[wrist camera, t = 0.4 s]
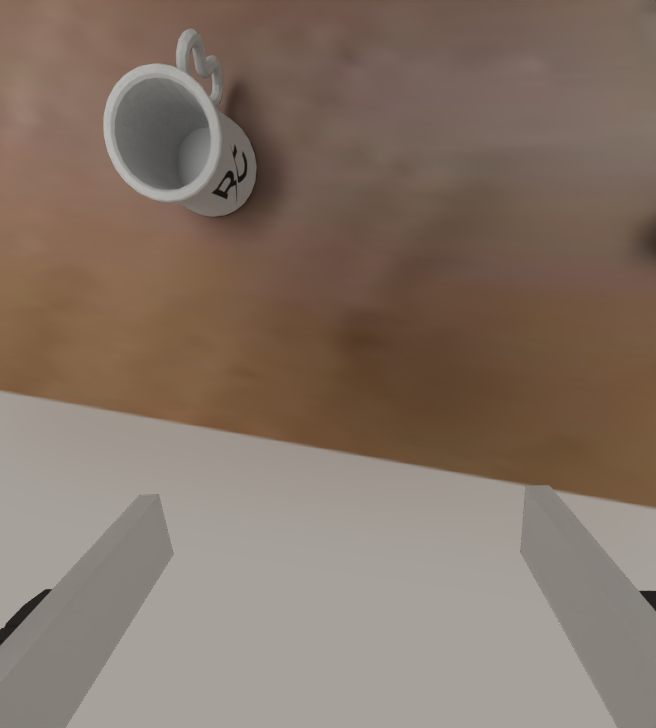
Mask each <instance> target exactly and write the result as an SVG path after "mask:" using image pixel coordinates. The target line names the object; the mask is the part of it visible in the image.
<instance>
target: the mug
mask: <svg viewBox="0 0 656 728" xmlns="http://www.w3.org/2000/svg"><path fill="white" fill-rule="evenodd" d="M191 49H192V50H193V55H194V62H195V68H196V72H197V73H198V75H199V76H200V77H201V78H209V77H210V76H211V75H212V92H211V95H210V97H209V95H208V94H207V92H206V91H205V90H204V88H203V87H202V86H201V85H200V84H199V83H198V82H197V81H196V80H195V79H193V78H192V77H191V75H190V68H189V54H190V51H191ZM176 65H177V68H176V67H174V66H171V65H164V64H158V63H154V64H148V65H142V66H139V67H137V68H135V69H133V70H132V71H130V72H128V73H126V74H125V75H124V76H123V77H122V78H121V79H120V80H119V82H118V83H117V84H116V85H115V86H114V88H113V90H112V92H111V94H110V96H109V98H108V100H107V104H106V108H105V113H104V138H105V142H106V146H107V150H108V154H109V156H110V158H111V160H112V162H113V164H114V167H115V169H116V170H117V171H118V173H119V174H120V175H121V177H122V178H123V179H124V180H125V182H126V183H127V184H129V185H130V186H131V187H132V188H133V189H135V190H136V191H137V192H138V193H140V194H142V195H144V196H146V197H149V198H151V199H153V200H156V201H162V202H168V203H178V204H181V205H182V206H184V207H186V208H187V209H189V210H191V211H194V212H196V213H198V214H200V215H204V216H210V217H215V216H223V215H227V214H229V213H232V212H234V211H236V210H237V209H238V208H239V207H241V206H242V205H243V204H244V203H245V202H246V200H247V199H248V197H249V196H250V194H251V192H252V189H253V187H254V184H255V180H256V169H257V167H256V160H255V154H254V151H253V149H252V146H251V143H250V141H249V139H248V137H247V136H246V134H245V133H244V132H243V130H242V129H241V128H240V127H239V126H238V125H237V124H236V123H235V122H234V121H232V120H231V119H230V118H229V117H227V116H226V115H224V114H223V113H221V112H220V111H219V110H218V109H217V107H218V105H219V104H220V102H221V98H222V94H223V75H222V68H221V64H220V62H219V61H218V59H217V58H216V57H215V56H214V55H210V56H208V57H207V58H206V54H205V48H204V44H203V41H202V38H201V36H200V35H199V34H198V33H197V32H196V31H195V30H194V29H188V30H186V31H184V32H183V33H182V35H181V37H180V38H179V40H178V45H177V50H176Z"/></svg>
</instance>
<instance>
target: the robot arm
mask: <svg viewBox="0 0 656 728" xmlns="http://www.w3.org/2000/svg"><path fill="white" fill-rule="evenodd" d="M520 552H521V554H522V556H523V558H524V560H525V561H526V563H527V565H528V567H529V569H530V570H531V572H532V574H533V576H534V577H535V579H536V581H537V583H538V585H539V587H540V588H541V590H542V592H543V594H544V596H545V597H546V599H547V601H548V603H549V605H550V606H551V608H552V610H553V612H554V614H555V616H556V617H557V619H558V621H559V623H560V624H561V626H562V628H563V630H564V632H565V634H566V635H567V637H568V639H569V640H570V643H571V645H572V646H573V648H574V650H575V652H576V653H577V655H578V657H579V659H580V661H581V663H582V664H583V666H584V668H585V670H586V672H587V673H588V675H589V677H590V679H591V680H592V682H593V684H594V686H595V688H596V690H597V691H598V693H599V695H600V697H601V699H602V701H603V702H604V704H605V706H606V708H607V710H608V711H609V713H610V715H611V717H612V718H613V720H614V722H615V724H616V726H617V728H656V591H638V590H637V589H636V587H635V586H634V585H633V584H632V583H631V581H630V580H629V579H628V578H627V577H626V576H625V574H624V573H623V572H622V571H621V570H620V568H619V567H618V566H617V565H616V564H615V562H614V561H613V560H612V559H611V558H610V557H609V556H608V554H607V553H606V552H605V551H604V549H603V548H602V547H601V546H600V545H599V544H598V542H597V541H596V540H595V539H594V538H593V536H592V535H591V534H590V533H589V532H588V530H587V529H586V528H585V527H584V526H583V525H582V523H581V522H580V521H579V520H578V519H577V518H576V516H575V515H574V514H573V513H572V512H571V510H570V509H569V508H568V507H567V506H566V505H565V503H564V502H563V501H562V500H561V499H560V497H559V496H558V495H557V494H556V493H555V491H554V490H553V489H552V488H551V487H550V485H540V486H525V501H524V513H523V525H522V537H521V550H520ZM172 556H173V550H172V546H171V542H170V537H169V534H168V529H167V526H166V521H165V517H164V513H163V509H162V505H161V501H160V497H159V494H155V495H154V494H151V495H139V496H138V497H137V498H136V499H135V500H134V501H133V502H132V504H131V505H130V506H129V507H128V508H127V509H126V510H125V511H124V512H123V513H122V514H121V515H120V517H119V518H118V519H117V520H116V521H115V522H114V523H113V524H112V525H111V526H110V528H109V529H108V530H107V531H106V532H105V533H104V534H103V535H102V536H101V537H100V538H99V540H98V541H97V542H96V543H95V544H94V545H93V546H92V547H91V548H90V549H89V550H88V551H87V553H86V554H85V555H84V556H83V557H82V558H81V559H80V560H79V561H78V562H77V563H76V564H75V565H74V566H73V568H72V569H71V570H70V571H69V572H68V573H67V574H66V575H65V576H64V577H63V578H62V580H61V581H60V582H59V583H58V584H57V585H56V586H55V587H54V588H53V589H46V590H44V591H43V592H41V593H40V594H38V595H37V596H36V597H34V598H33V599H32V600H30V601H29V602H28V603H26V604H25V605H24V606H23V607H22V608H21V609H20V610H19V611H18V612H17V613H16V614H15V615H14V616H13V617H12V618H11V619H10V620H9V621H8V622H7V623H6V626H5V627H4V628H2V629H0V728H66V726H67V724H68V723H69V721H70V720H71V718H72V716H73V715H74V713H75V712H76V710H77V709H78V707H79V705H80V704H81V702H82V701H83V699H84V697H85V696H86V694H87V692H88V691H89V689H90V688H91V686H92V684H93V683H94V681H95V680H96V678H97V676H98V675H99V673H100V671H101V670H102V668H103V667H104V665H105V664H106V662H107V660H108V659H109V657H110V655H111V654H112V652H113V651H114V649H115V647H116V646H117V644H118V643H119V641H120V639H121V638H122V636H123V635H124V633H125V631H126V630H127V628H128V626H129V625H130V623H131V622H132V620H133V619H134V617H135V615H136V614H137V612H138V611H139V609H140V607H141V606H142V604H143V602H144V601H145V599H146V598H147V596H148V594H149V593H150V591H151V590H152V588H153V586H154V585H155V583H156V581H157V580H158V578H159V577H160V575H161V573H162V572H163V570H164V569H165V567H166V566H167V564H168V562H169V561H170V559H171V557H172Z"/></svg>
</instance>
